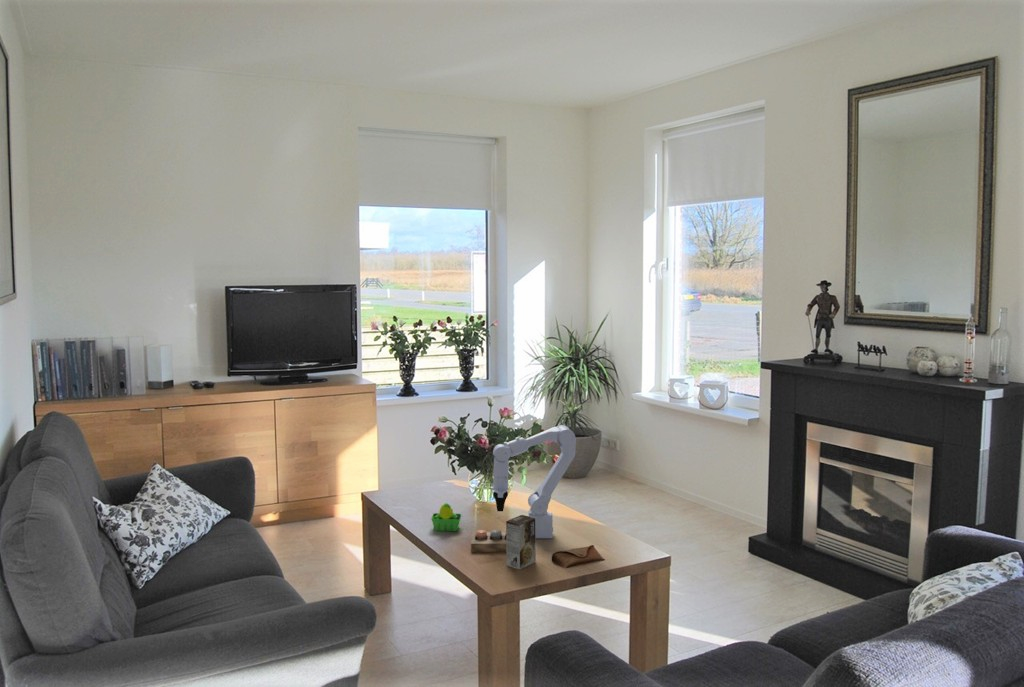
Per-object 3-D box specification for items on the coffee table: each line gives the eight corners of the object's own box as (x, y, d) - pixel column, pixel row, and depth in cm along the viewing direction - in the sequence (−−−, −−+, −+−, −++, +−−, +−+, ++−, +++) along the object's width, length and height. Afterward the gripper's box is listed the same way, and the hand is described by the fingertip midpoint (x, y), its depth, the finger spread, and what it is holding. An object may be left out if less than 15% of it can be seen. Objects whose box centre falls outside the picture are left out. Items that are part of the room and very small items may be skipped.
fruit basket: (461, 525, 325) (461, 498, 324) (459, 533, 316) (459, 504, 315) (433, 525, 325) (433, 498, 324) (430, 532, 317) (430, 504, 315)
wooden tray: (519, 539, 308) (519, 531, 308) (520, 551, 295) (520, 543, 295) (472, 539, 308) (472, 531, 308) (471, 551, 295) (471, 543, 295)
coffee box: (521, 558, 289) (521, 514, 287) (536, 562, 285) (536, 517, 283) (505, 565, 282) (505, 520, 280) (520, 570, 278) (519, 524, 276)
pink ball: (486, 539, 304) (486, 529, 303) (486, 543, 300) (486, 533, 299) (476, 539, 304) (476, 529, 303) (475, 543, 300) (475, 533, 299)
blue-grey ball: (501, 539, 304) (501, 529, 303) (501, 543, 300) (501, 533, 299) (490, 539, 304) (490, 529, 303) (490, 543, 300) (490, 533, 299)
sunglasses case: (564, 568, 278) (559, 549, 281) (554, 573, 284) (549, 554, 286) (606, 559, 287) (601, 541, 290) (596, 564, 293) (591, 545, 295)
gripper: (490, 471, 316) (490, 505, 317) (490, 480, 301) (489, 516, 303) (508, 471, 316) (508, 505, 317) (508, 481, 301) (508, 516, 303)
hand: (500, 510), depth 310 cm, fingers closed
